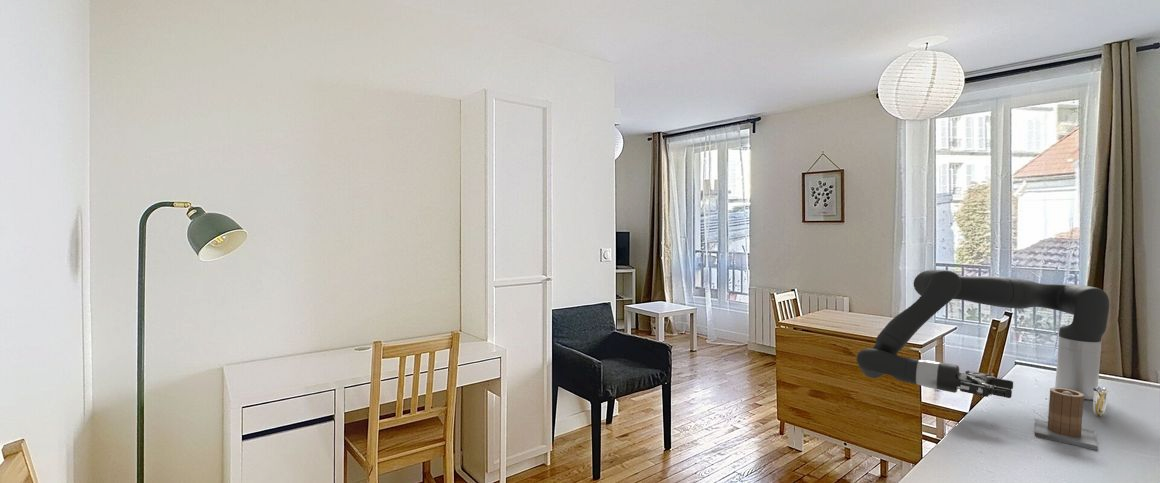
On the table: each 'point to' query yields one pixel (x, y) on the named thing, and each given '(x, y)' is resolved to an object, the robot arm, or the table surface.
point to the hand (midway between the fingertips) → (1012, 389)
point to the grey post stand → (1084, 440)
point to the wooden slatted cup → (1065, 412)
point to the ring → (1100, 400)
